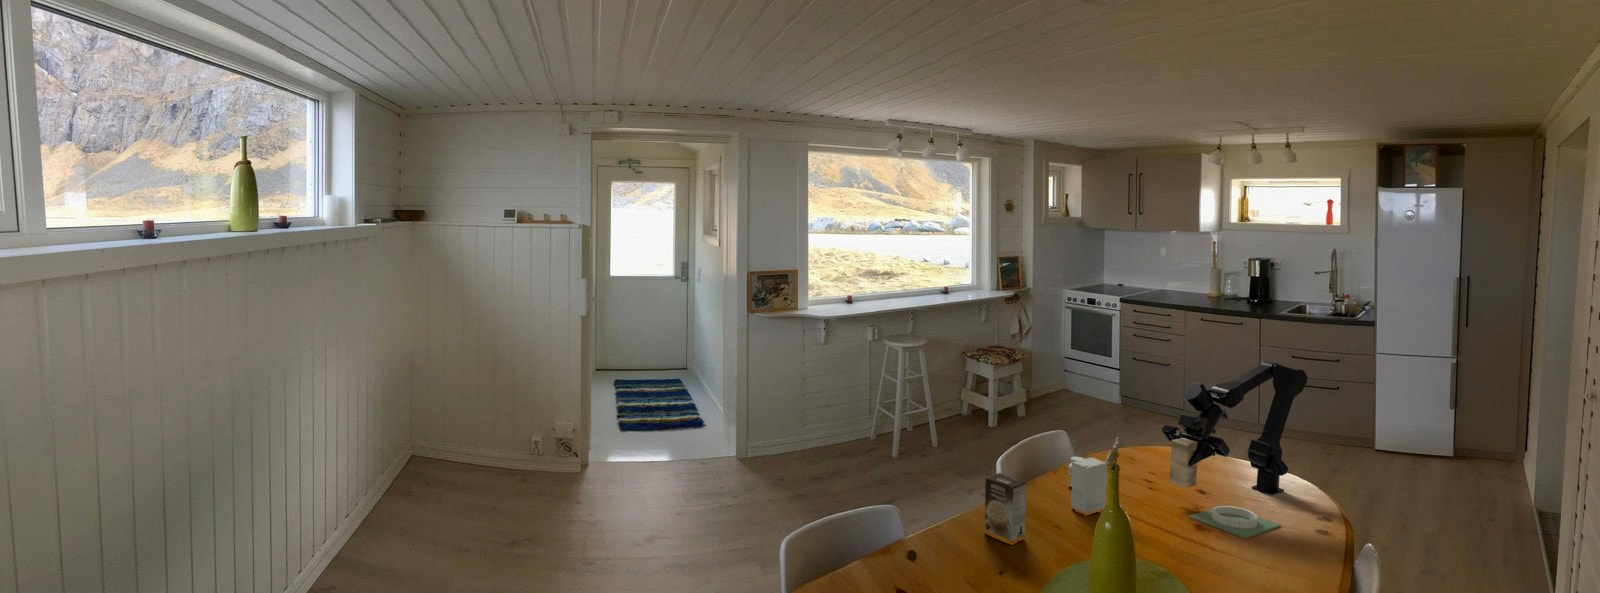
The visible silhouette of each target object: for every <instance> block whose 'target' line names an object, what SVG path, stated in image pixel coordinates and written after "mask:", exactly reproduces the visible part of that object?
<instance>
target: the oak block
mask: <svg viewBox="0 0 1600 593" xmlns="http://www.w3.org/2000/svg"><path fill="white" fill-rule="evenodd" d="M1197 445H1198V442H1195V441H1192V440H1189V439H1186V438H1179V439H1175V440H1172V442H1171V448H1170V450H1171V451H1170V452H1171V453H1170V465H1169V468H1170V469H1169V480H1168V481H1169V483H1170V484H1173V485H1176V486H1177V487H1181V488H1184V489H1187V488H1190V487H1193V486H1197V477H1198V476H1197V475H1198V474H1197V473H1198V463H1196V464H1194V465H1192V466H1189V465H1188V463H1189V461H1190V459H1191V457H1192V456H1193V454H1194V452H1195V451H1196V449H1197Z"/></svg>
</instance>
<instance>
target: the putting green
mask: <svg viewBox="0 0 1600 593" xmlns="http://www.w3.org/2000/svg"><path fill="white" fill-rule="evenodd" d="M1188 518H1189V519H1192V520H1194V521H1197V522H1200V523H1203V524H1205V525H1209V526H1211V527H1214V528H1216V529H1219V530H1220V531H1221V530H1222V531H1225V532H1226V533H1230V534H1233V535H1235V536H1237V537H1240V538H1242V539H1248V538H1252V537H1254V536H1257V535H1260V534H1263V533H1266V532H1268V531H1269V532H1270V531H1272V530H1275V529H1278V528H1280V527H1282V524H1280V523H1277V522H1274V521H1271V520H1268V519H1264V518H1262V517H1260V516H1258V515H1257V514H1256V513H1254V512H1253V511H1252V510H1248V509H1246V508H1243V507H1238V506H1232V505H1217V506H1214V507H1212V508H1210V509H1207V510H1204V511H1201V512H1196V513H1194V514H1190V515H1188Z"/></svg>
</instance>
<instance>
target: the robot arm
mask: <svg viewBox="0 0 1600 593" xmlns="http://www.w3.org/2000/svg"><path fill="white" fill-rule="evenodd" d="M1270 379H1272V386H1273V389H1274V390H1273V391H1274V396H1273V399H1272V402H1271V403H1270V408H1269V410H1268V415H1267V418H1266V420H1265V422H1264V426H1263V430H1262V432H1261V435H1260V436H1259V437H1258V438H1257V439H1251V441H1250V443H1249V444H1250V445H1249V448H1248V449H1247V450H1246V451H1247V458H1248V460H1249V463H1250V466H1251V468H1254V469H1257V474H1256V484H1255V485H1253V486H1252V485H1251V489H1254V490H1256V491H1260V492H1263V493H1266V494H1269V495H1275V494H1279V493H1282V492H1284V491H1285V489H1284V488H1281V487H1280V476H1284V475H1287V473H1288V471H1289V466H1288V465H1286V463H1285V462H1284V461H1283V460H1282V457H1283V449H1282V446H1281V438H1282V435H1283V433H1284V430H1285V426H1286V423H1287V420H1288V417H1289V414H1290V411H1291V407H1292V404H1293V401H1294V399H1295V398H1296V397H1297V396H1298V395H1299V394H1301V393H1302V392H1303V391H1304V389H1305V387H1306V384H1307V383H1308V375H1307V373H1306V371H1305V370H1304V369H1301V368H1295V367H1290V366H1284V365H1281V364H1279V363H1278V362H1273V361H1269V360H1268V361H1267V360H1266V361H1265V360H1264V361H1261V363H1259V364H1258V365H1257V366H1255V367H1254V368H1252V369H1251V370H1249V371H1248V372H1246V373H1244V374H1242V375H1241V376H1239V377H1237V378H1236V379H1234V380H1231V381H1226V382H1221V383H1219V384H1216V385H1213V387H1211V388H1210V389H1207V388H1206V386H1205V385H1204V384H1203V383H1201V382H1196V383H1195V384H1193V385H1189V386H1187V388H1185V389H1183V391H1182V393H1181V397H1182V398H1183V400H1184V401H1186V403H1187V404H1188V405H1189V406H1190V407H1191V408H1192V409H1193V411H1195V412H1198V413H1197V414H1196V416H1193V415H1192V416H1190V415H1185V414H1181V413H1180V415H1179V417H1178V421H1177V425H1178V426H1181V427H1183V428H1182V430H1183V431H1184V432H1182V431H1181V430H1180V429H1179V428H1178V426H1174V425H1172V424H1167V423H1166V424H1164V425H1163V426H1162V428H1161V429H1160V431H1161V433H1162V434H1163V435H1164V436H1165V438H1166V439H1167V440H1168V441H1169V442H1171V443H1172V440H1175V439H1179V438H1186V439H1189V440H1192V441H1195V442H1198V445H1197V449H1196V451H1195V452H1194V454H1193V456H1192V457H1191V459H1190V461H1189V463H1188V465H1189V466H1192V465H1194V464H1196V463H1197V464H1198V463H1199V462H1201V461H1203V460H1205V459H1207V458H1209V457H1212V456H1213V457H1215V456H1216V454H1217V455H1218V456H1222V457H1228V455H1229V454H1230V452H1231V451H1230V450H1231V449H1230V447H1229V445H1228V444H1227V443H1226V441H1225V440H1224V439H1223V438H1221V437H1218V436H1213V435H1212V434H1214V435H1215V434H1216V433H1217V430H1216V429H1215V428H1216V426H1217V425H1218V423H1219V422H1220V420H1221V419H1228V414H1227V410H1226V409H1224V408H1222V407H1225V408H1229V409H1233V408H1235V407H1236V406H1238V405H1239V404H1240V403H1242V401H1244V398H1245V395H1247V393H1249V392H1251V391H1252V390H1254V389H1256V388H1258V387H1259V386H1261V385H1263V384H1264V383H1266V382H1268V381H1269V380H1270ZM1221 406H1222V407H1221Z"/></svg>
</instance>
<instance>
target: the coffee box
mask: <svg viewBox="0 0 1600 593" xmlns="http://www.w3.org/2000/svg"><path fill="white" fill-rule="evenodd" d="M984 486H985V489H984V490H985V493H984V494H985V496H984V500H985V501H984V530H985V529H986V530H989V531H990V532H992V533H995V534H997V535H999V536H1001V537H1004V538H1006V539H1008V540H1010V541H1013V540H1015V539H1018V538H1020V537H1023V536H1026V510H1027V508H1026V507H1027V506H1026V504H1027V502H1026V501H1027V499H1026V498H1027V482H1026V481H1024V480H1021V479H1019V478H1015V477H1012V476H1009V475H1007V474H1004V473H1001V472H997V473H996V474H993V475H990V476H988V477H986V478H985V485H984Z"/></svg>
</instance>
